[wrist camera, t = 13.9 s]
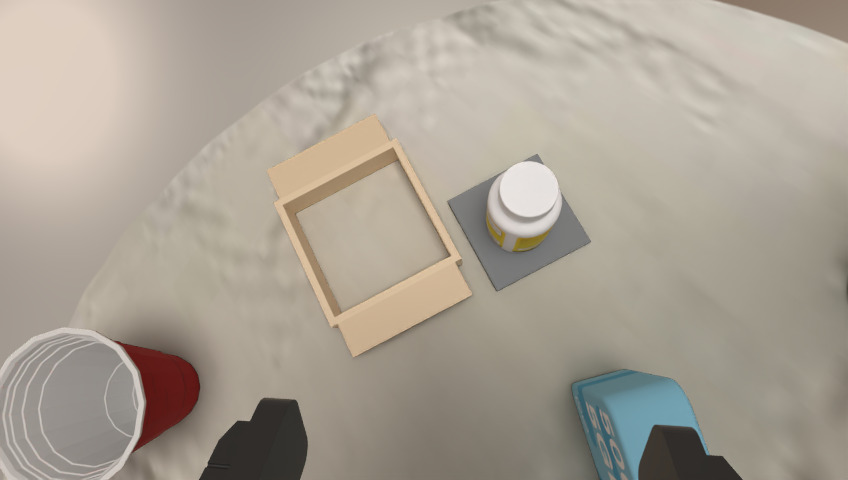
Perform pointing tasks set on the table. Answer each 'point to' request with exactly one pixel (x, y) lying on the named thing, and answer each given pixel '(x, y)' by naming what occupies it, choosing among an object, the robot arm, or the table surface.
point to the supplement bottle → (523, 207)
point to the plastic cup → (86, 404)
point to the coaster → (508, 264)
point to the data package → (628, 417)
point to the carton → (331, 172)
